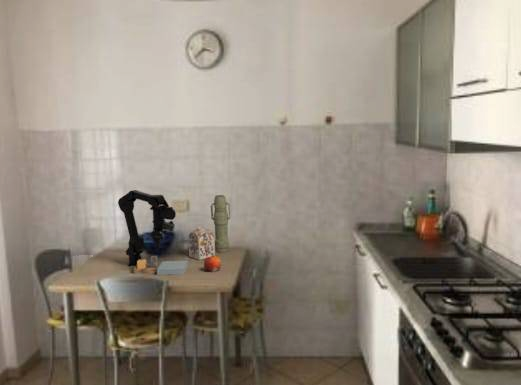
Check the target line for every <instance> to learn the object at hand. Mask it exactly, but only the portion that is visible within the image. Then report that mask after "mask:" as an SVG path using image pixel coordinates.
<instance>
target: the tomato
mask: <svg viewBox="0 0 521 385" xmlns="http://www.w3.org/2000/svg"><path fill="white" fill-rule="evenodd" d="M221 266H222V262H221V258H219V257H218V256H216V255H215V256H211V257H207V258H206V259H203V267H204V269H206V271H207V270H208V271H211V272H215V271H219V270H220V268H221Z"/></svg>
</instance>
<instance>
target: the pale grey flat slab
mask: <svg viewBox="0 0 521 385" xmlns="http://www.w3.org/2000/svg"><path fill="white" fill-rule="evenodd" d="M188 262H189V261H188V260H166V261H164V260H163V261H162V262H161V263H160V264H159V267H158V269H157V272H156V275H157V276H163V275H165V276H167V275H168V274H173V275H184V274H185V273H186V270H187V268H188V265H189V264H188Z"/></svg>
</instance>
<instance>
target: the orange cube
mask: <svg viewBox="0 0 521 385" xmlns="http://www.w3.org/2000/svg"><path fill="white" fill-rule="evenodd" d="M147 265H148V264H147V259H145V258H144V259H143V258H142V260H138V261H137V268H138V269H145V268H146V267H147Z"/></svg>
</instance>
